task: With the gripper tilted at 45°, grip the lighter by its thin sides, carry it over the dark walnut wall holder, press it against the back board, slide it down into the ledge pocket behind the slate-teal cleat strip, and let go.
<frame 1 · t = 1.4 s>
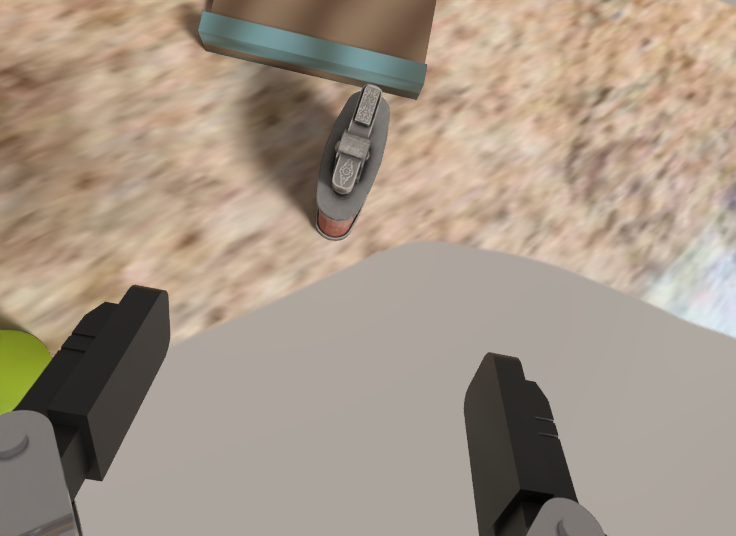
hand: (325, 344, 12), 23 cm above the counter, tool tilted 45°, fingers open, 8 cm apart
soap dispenser: (1, 370, 32), on the counter
lighter: (345, 189, 36), on the counter
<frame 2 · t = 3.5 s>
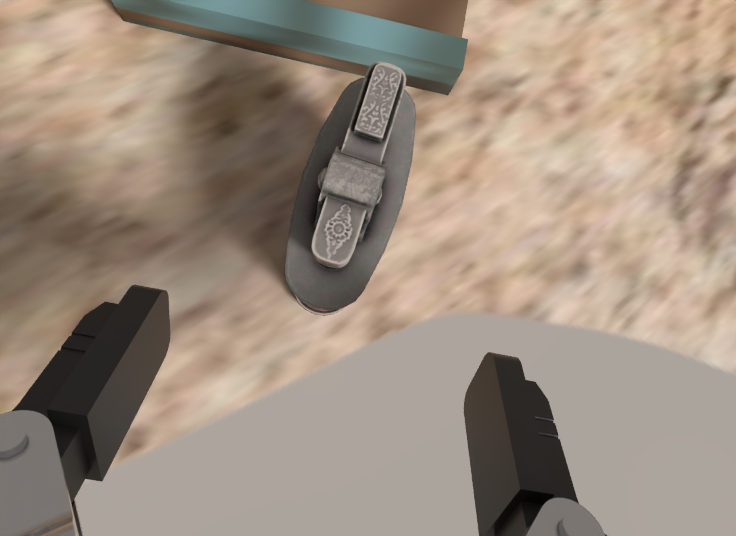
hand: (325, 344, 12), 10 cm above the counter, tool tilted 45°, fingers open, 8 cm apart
lighter: (340, 233, 24), on the counter
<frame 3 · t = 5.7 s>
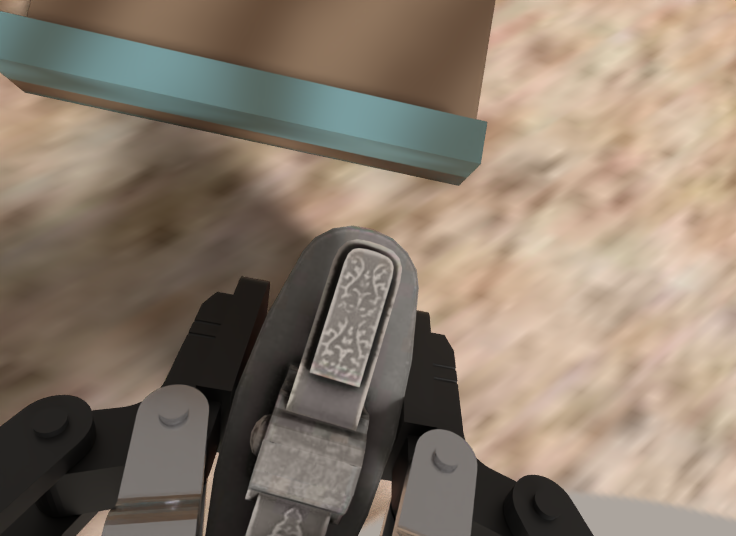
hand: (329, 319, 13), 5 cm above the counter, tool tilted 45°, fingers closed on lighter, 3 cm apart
lighter: (314, 377, 18), on the counter, touching gripper
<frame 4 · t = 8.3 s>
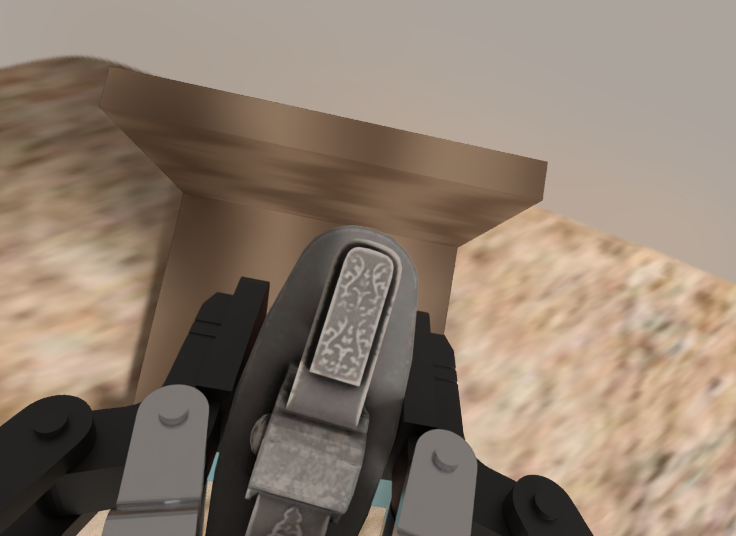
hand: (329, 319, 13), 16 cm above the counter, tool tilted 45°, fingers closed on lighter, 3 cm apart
lighter: (315, 377, 18), point 11 cm above the counter, touching gripper
wall holder: (302, 332, 28), on the counter
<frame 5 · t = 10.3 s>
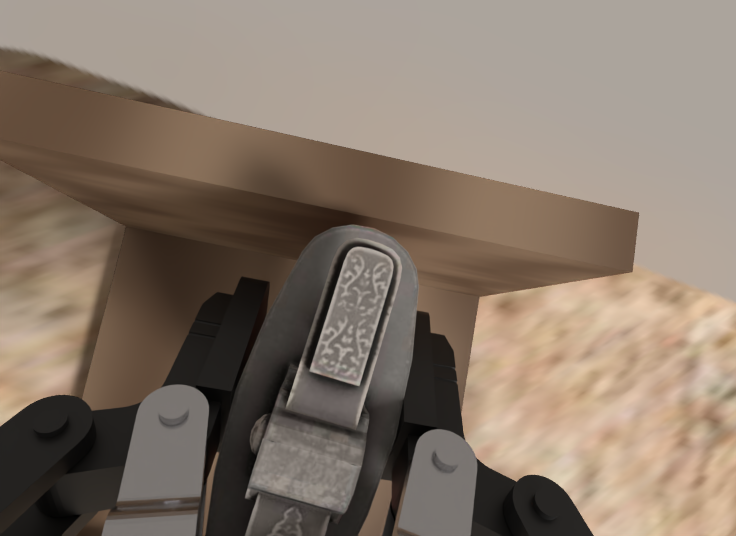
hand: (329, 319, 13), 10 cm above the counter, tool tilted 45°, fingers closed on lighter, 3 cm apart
lighter: (315, 376, 18), point 5 cm above the counter, touching gripper
wall holder: (280, 405, 22), on the counter
when the fingers open (7 cm above the counter, at t = 11.2 s): lighter drops 1 cm, resting on wall holder.
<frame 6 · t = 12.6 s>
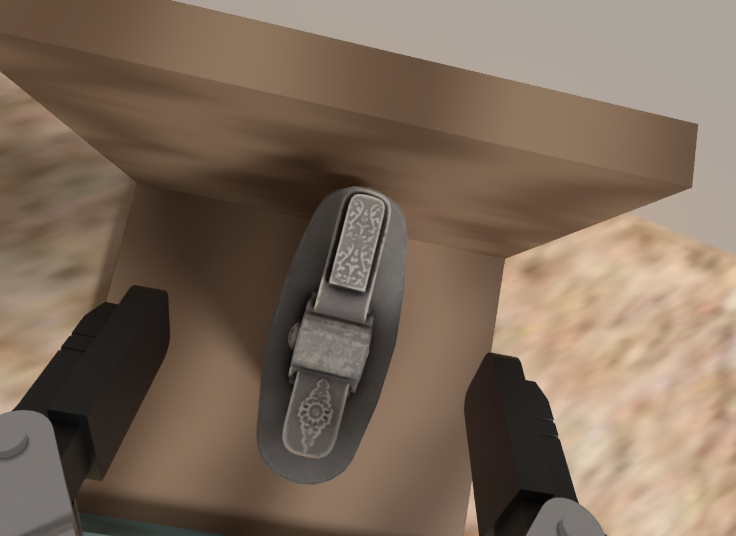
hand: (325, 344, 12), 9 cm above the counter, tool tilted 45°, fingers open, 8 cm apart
lighter: (329, 329, 21), point 1 cm above the counter, touching wall holder
wall holder: (296, 371, 21), on the counter
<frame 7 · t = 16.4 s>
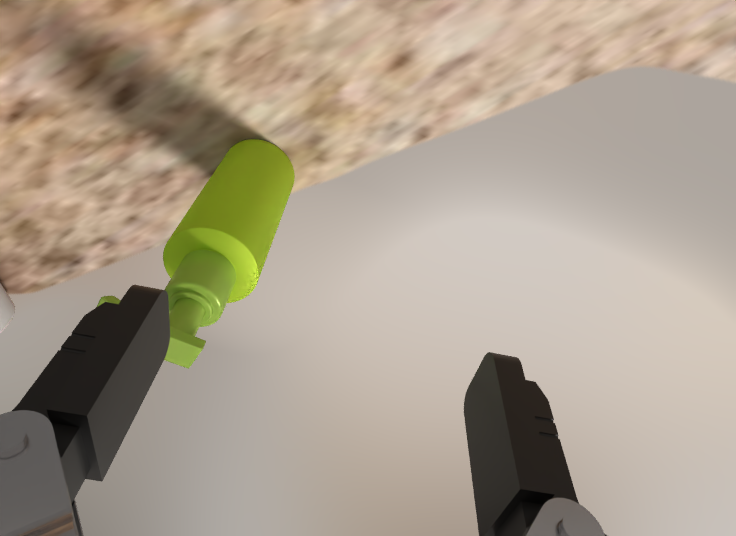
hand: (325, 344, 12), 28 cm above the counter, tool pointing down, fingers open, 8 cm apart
soap dispenser: (254, 168, 41), on the counter
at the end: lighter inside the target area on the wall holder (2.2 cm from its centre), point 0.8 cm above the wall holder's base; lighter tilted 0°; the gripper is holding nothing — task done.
